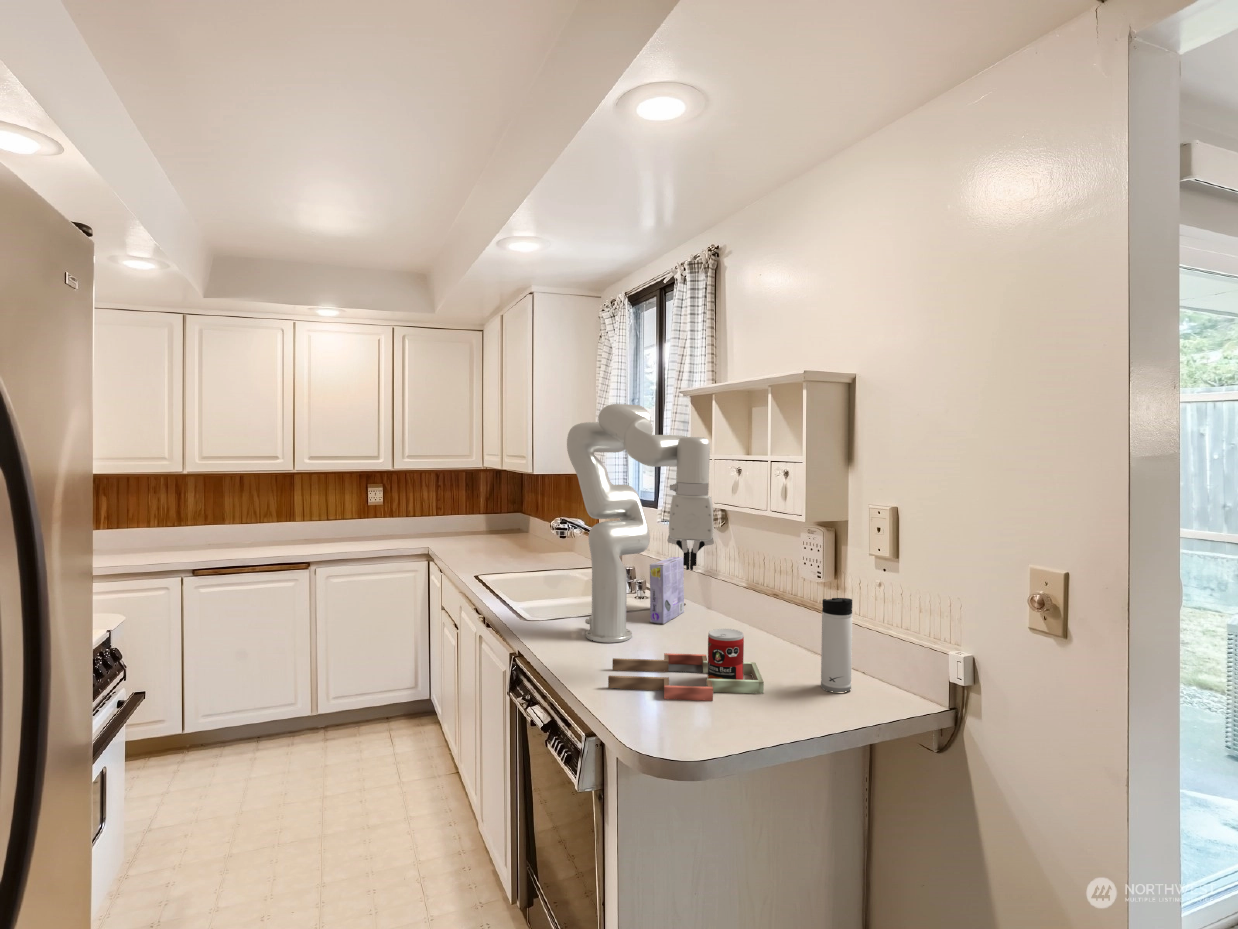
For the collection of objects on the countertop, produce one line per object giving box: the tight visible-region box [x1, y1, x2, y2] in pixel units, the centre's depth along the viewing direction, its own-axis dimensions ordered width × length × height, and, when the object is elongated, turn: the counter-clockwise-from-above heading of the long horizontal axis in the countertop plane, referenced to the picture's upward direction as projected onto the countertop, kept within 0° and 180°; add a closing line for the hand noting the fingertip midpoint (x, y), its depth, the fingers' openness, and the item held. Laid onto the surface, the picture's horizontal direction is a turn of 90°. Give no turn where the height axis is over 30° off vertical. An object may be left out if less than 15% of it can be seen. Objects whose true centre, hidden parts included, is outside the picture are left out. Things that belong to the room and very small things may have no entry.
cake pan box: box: [649, 556, 685, 625], centre depth 207 cm, size 19×5×18 cm, turn 155°
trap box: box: [607, 652, 765, 702], centre depth 151 cm, size 33×23×2 cm
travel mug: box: [820, 597, 853, 692], centre depth 146 cm, size 6×7×20 cm
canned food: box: [707, 628, 745, 680], centre depth 150 cm, size 8×8×11 cm
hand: (689, 568), depth 157 cm, fingers closed
